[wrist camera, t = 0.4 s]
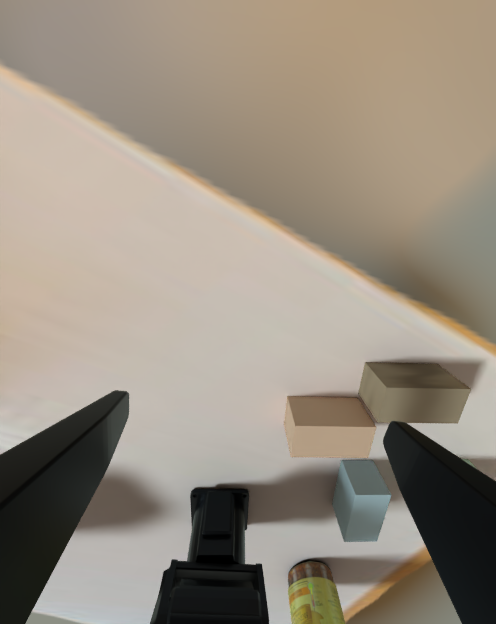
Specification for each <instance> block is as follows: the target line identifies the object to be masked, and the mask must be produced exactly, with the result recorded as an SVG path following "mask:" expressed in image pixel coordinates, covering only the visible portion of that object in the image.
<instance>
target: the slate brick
mask: <svg viewBox="0 0 496 624" xmlns="http://www.w3.org/2000/svg"><path fill="white" fill-rule="evenodd" d="M390 498H391V493H390V491H389V489H388V488H387V486H386V484H385V482H384V480H383V478H382V476H381V475H380V473H379V471H378V469H377V467H376V465H375V464H374V462H373V460H341V464H340V469H339V473H338V478H337V483H336V488H335V493H334V498H333V503H332V505H333V508H334V511H335V514H336V517H337V521H338V524H339V527H340V530H341V533H342V536H343V539H344V542H366V541H377V540H378V536H379V533H380V530H381V527H382V524H383V520H384V517H385V514H386V511H387V508H388V504H389V501H390Z"/></svg>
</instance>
